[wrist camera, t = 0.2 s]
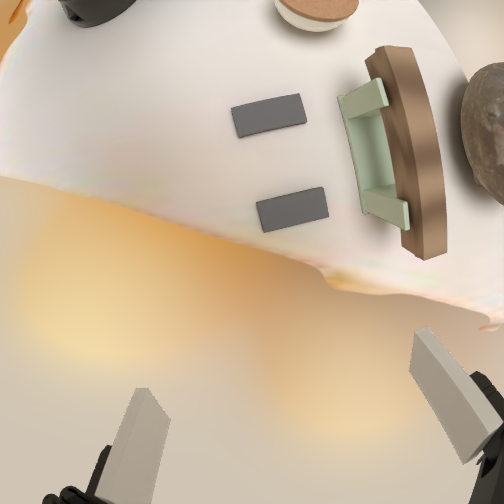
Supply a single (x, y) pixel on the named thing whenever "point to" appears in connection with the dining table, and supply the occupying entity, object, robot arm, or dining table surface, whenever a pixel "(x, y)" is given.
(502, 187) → the bowl
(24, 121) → the dining table surface
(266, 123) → the rests
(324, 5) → the lidded jar
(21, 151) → the dining table surface
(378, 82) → the rack
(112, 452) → the robot arm
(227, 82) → the dining table surface
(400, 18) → the dining table surface
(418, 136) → the rail
